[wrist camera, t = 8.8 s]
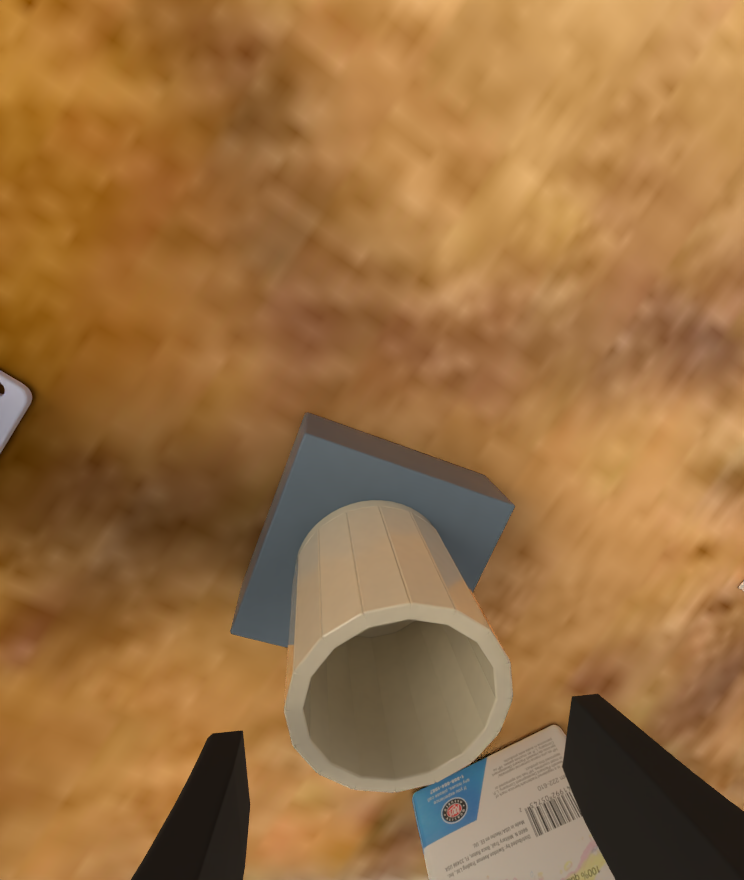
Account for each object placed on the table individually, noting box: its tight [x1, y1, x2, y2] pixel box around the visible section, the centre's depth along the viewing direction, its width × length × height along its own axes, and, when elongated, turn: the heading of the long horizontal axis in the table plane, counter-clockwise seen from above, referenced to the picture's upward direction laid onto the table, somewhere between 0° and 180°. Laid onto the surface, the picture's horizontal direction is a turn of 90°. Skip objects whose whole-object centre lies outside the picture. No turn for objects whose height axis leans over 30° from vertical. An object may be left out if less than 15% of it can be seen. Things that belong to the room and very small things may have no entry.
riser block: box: [230, 412, 515, 648], centre depth 19 cm, size 8×8×3 cm
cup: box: [284, 500, 513, 793], centre depth 14 cm, size 6×6×6 cm
